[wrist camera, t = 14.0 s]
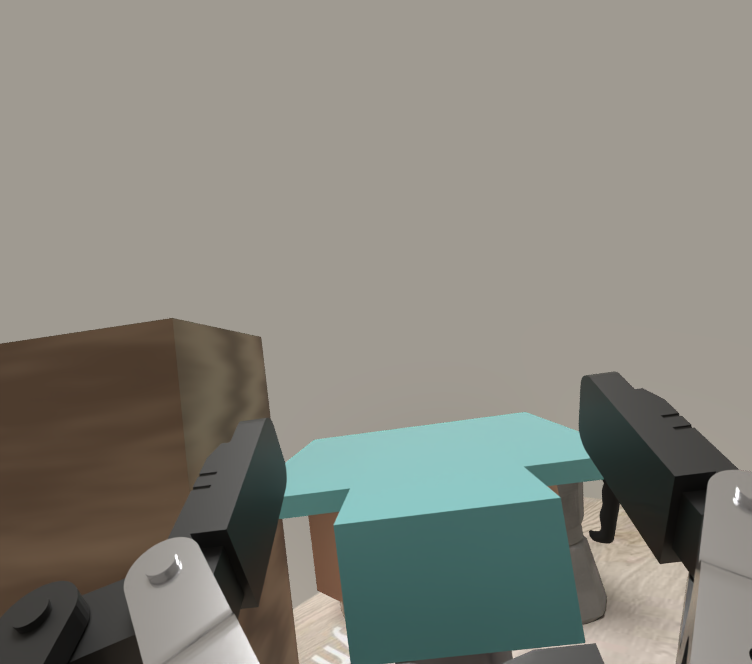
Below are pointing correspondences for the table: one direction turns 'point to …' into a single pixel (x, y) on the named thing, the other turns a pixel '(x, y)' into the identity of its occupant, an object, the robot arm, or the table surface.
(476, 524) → the cover
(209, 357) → the wooden block
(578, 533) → the coffeepot
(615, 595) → the table surface
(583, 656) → the robot arm
